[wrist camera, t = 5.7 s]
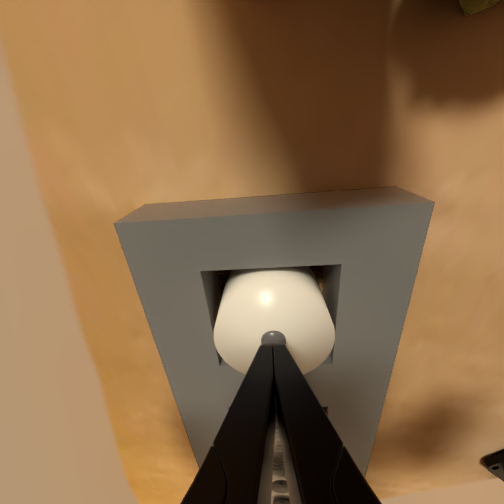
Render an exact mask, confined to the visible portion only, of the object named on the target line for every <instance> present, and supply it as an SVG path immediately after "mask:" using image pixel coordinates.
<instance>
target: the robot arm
mask: <svg viewBox="0 0 504 504" xmlns="http://www.w3.org/2000/svg"><path fill="white" fill-rule="evenodd" d="M275 399H276V401H275ZM276 414H277V422H278V429H279V435H280V441H281V448H282V454H283V460H284V467H285V473H286V479H287V486H288V492H289V498H290V504H381V502H380V501H379V499H378V498H377V496H376V495H375V493H374V492H373V490H372V489H371V487H370V486H369V484H368V483H367V481H366V479H365V478H364V476H363V475H362V473H361V471H360V470H359V468H358V466H357V465H356V463H355V462H354V460H353V458H352V457H351V455H350V453H349V451H348V450H347V448H346V447H345V446H343V445H344V443H343V442H342V440H341V438H340V436H339V435H338V433H337V431H336V430H335V428H334V426H333V425H332V423H331V421H330V419H329V418H328V416H327V414H326V413H325V411H324V409H323V408H322V406H321V404H320V402H319V401H318V399H317V397H316V396H315V394H314V392H313V391H312V389H311V387H310V385H309V384H308V382H307V380H306V379H305V377H304V375H303V374H302V372H301V370H300V368H299V367H298V365H297V363H296V362H295V360H294V358H293V357H292V355H291V353H290V351H289V350H288V348H287V346H286V345H285V344H273V346H272V344H261V345H260V346H259V348H258V350H257V352H256V354H255V356H254V359H253V361H252V363H251V365H250V367H249V369H248V371H247V373H246V375H245V377H244V379H243V381H242V383H241V385H240V387H239V389H238V391H237V394H236V396H235V398H234V400H233V402H232V404H231V406H230V408H229V410H228V412H227V414H226V416H225V418H224V420H223V422H222V424H221V427H220V429H219V431H218V433H217V435H216V437H215V439H214V441H213V446H211V447H210V449H209V451H208V453H207V455H206V457H205V459H204V461H203V463H202V465H201V467H200V469H199V471H198V473H197V475H196V477H195V479H194V481H193V483H192V484H191V486H190V488H189V490H188V491H187V493H186V495H185V497H184V498H183V500H182V502H181V504H271V494H272V477H273V460H274V444H275V427H276ZM483 463H484V465H485V466H486V468H487V469H488V470H489V471H490V472H491V473H493V474H494V475H496V476H497V477H498V478H500V479H501V480H503V481H504V453H501V454H498V455H495V456H493V457H490V458H487V459H485V460H484V461H483Z"/></svg>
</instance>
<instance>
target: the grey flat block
mask: <svg viewBox="0 0 504 504" xmlns="http://www.w3.org/2000/svg"><path fill="white" fill-rule="evenodd" d="M434 203H435V202H433V201H431V200H428V199H426V198H423V197H421V196H418V195H415V194H413V193H410V192H408V191H405V190H403V189H400V188H398V187H384V188H370V189H356V190H342V191H327V192H313V193H299V194H285V195H271V196H257V197H243V198H229V199H215V200H201V201H187V202H173V203H159V204H145V205H144V206H142V207H140V208H138V209H137V210H135V211H133V212H132V213H130V214H128V215H127V216H125V217H123V218H122V219H120V220H118V221H117V222H115V223H114V226H115V229H116V232H117V234H118V237H119V240H120V243H121V246H122V249H123V252H124V255H125V257H126V260H127V263H128V266H129V269H130V272H131V275H132V278H133V280H134V283H135V286H136V289H137V292H138V295H139V298H140V300H141V303H142V306H143V309H144V312H145V315H146V318H147V321H148V323H149V326H150V329H151V332H152V335H153V338H154V341H155V343H156V346H157V349H158V352H159V355H160V358H161V361H162V364H163V366H164V369H165V372H166V375H167V378H168V381H169V384H170V386H171V389H172V392H173V395H174V398H175V401H176V404H177V407H178V409H179V412H180V415H181V418H182V421H183V424H184V427H185V429H186V432H187V435H188V438H189V441H190V444H191V447H192V450H193V452H194V455H195V458H196V461H197V464H198V467H199V469H200V467H201V465H202V463H203V461H204V459H205V457H206V455H207V453H208V451H209V449H210V447H211V446H213V441H214V439H215V437H216V435H217V433H218V431H219V429H220V427H221V424H222V422H223V420H224V418H225V416H226V414H227V412H228V410H229V408H230V406H231V404H232V402H233V400H234V398H235V396H236V394H237V391H238V389H239V387H240V385H241V383H242V381H243V379H244V377H245V374H243V373H241V372H239V371H237V370H235V369H234V368H232V367H231V366H230V365H229V364H227V363H226V362H225V361H224V360H223V358H222V357H221V356H220V354H219V353H218V351H217V349H216V346H215V343H214V336H213V335H214V327H215V323H216V319H217V315H218V311H219V307H220V303H221V299H222V296H221V290H220V284H219V278H218V272H217V270H234V269H255V268H275V267H295V266H315V265H324V273H323V291H322V295H323V298H324V301H325V303H326V306H327V309H328V311H329V314H330V317H331V319H332V322H333V325H334V329H335V341H334V345H333V348H332V350H331V352H330V354H329V356H328V357H327V358H326V359H325V360H324V361H323V362H322V363H321V364H320V365H319V366H318V367H316V368H315V369H313V370H312V371H310V372H308V373H306V374H304V377H305V379H306V380H307V382H308V384H309V385H310V387H311V389H312V391H313V392H314V394H315V396H316V397H317V399H318V401H319V402H320V404H321V406H322V408H323V409H324V411H325V413H326V414H327V416H328V418H329V419H330V421H331V423H332V425H333V426H334V428H335V430H336V431H337V433H338V435H339V436H340V438H341V440H342V442H343V443H344V445H343V446H345V447H346V448H347V450H348V451H349V453H350V455H351V457H352V458H353V460H354V462H355V463H356V465H357V466H358V468H359V470H360V471H361V473H362V475H363V476H364V478H365V476H366V472H367V468H368V464H369V460H370V456H371V452H372V448H373V444H374V440H375V436H376V432H377V428H378V424H379V420H380V416H381V412H382V408H383V405H384V401H385V397H386V393H387V389H388V385H389V381H390V377H391V373H392V369H393V365H394V361H395V357H396V353H397V349H398V345H399V341H400V337H401V333H402V329H403V325H404V322H405V318H406V314H407V310H408V306H409V302H410V298H411V294H412V290H413V286H414V282H415V278H416V274H417V270H418V266H419V262H420V258H421V254H422V250H423V246H424V242H425V239H426V235H427V231H428V227H429V223H430V219H431V215H432V211H433V207H434ZM275 401H276V399H275Z"/></svg>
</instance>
